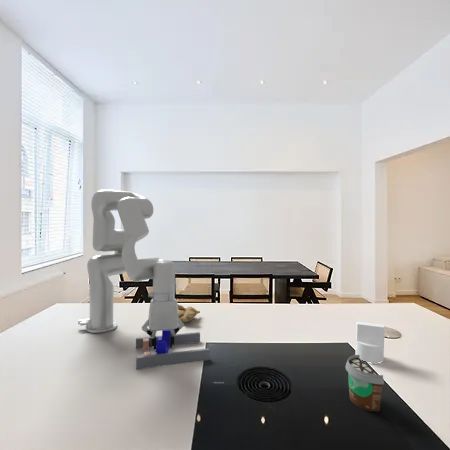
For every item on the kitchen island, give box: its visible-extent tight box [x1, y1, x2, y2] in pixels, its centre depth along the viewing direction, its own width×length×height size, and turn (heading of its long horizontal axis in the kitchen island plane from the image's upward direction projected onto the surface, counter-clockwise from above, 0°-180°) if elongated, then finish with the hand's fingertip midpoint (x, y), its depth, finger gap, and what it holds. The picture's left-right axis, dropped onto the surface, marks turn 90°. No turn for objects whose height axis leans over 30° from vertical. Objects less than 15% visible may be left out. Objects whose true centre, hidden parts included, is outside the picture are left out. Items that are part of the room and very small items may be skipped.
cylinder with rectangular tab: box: [354, 321, 385, 363], centre depth 106 cm, size 9×9×12 cm
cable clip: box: [155, 330, 171, 354], centre depth 106 cm, size 12×4×6 cm, turn 2°
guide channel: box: [135, 331, 211, 370], centre depth 107 cm, size 24×16×4 cm
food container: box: [345, 354, 385, 412], centre depth 81 cm, size 12×6×10 cm, turn 5°
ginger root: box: [178, 304, 201, 325], centre depth 141 cm, size 16×16×8 cm
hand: (162, 346), depth 106 cm, fingers closed on cable clip, 5 cm apart
